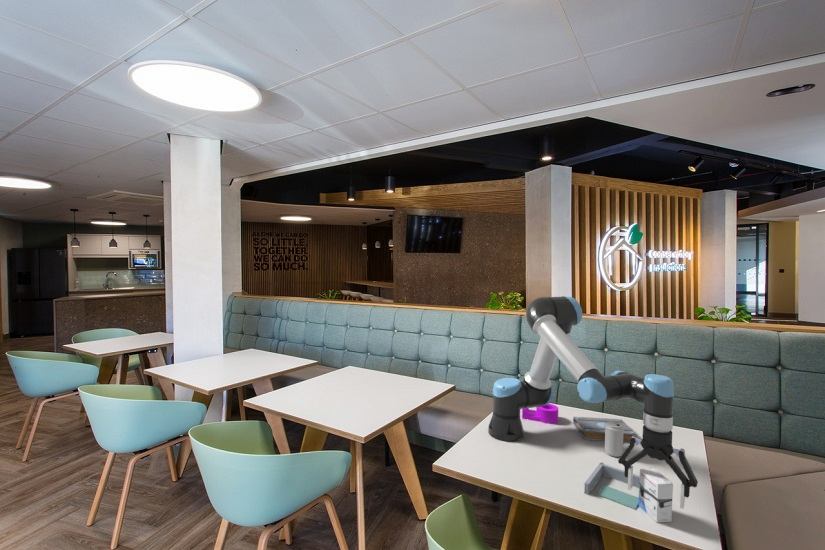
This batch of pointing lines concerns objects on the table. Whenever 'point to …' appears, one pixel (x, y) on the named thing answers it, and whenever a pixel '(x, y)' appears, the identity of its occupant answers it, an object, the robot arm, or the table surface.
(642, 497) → the ink box
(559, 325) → the robot arm
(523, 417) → the tape dispenser
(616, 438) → the beverage can
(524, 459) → the table surface
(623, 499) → the mat
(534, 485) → the table surface
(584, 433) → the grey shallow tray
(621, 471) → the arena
